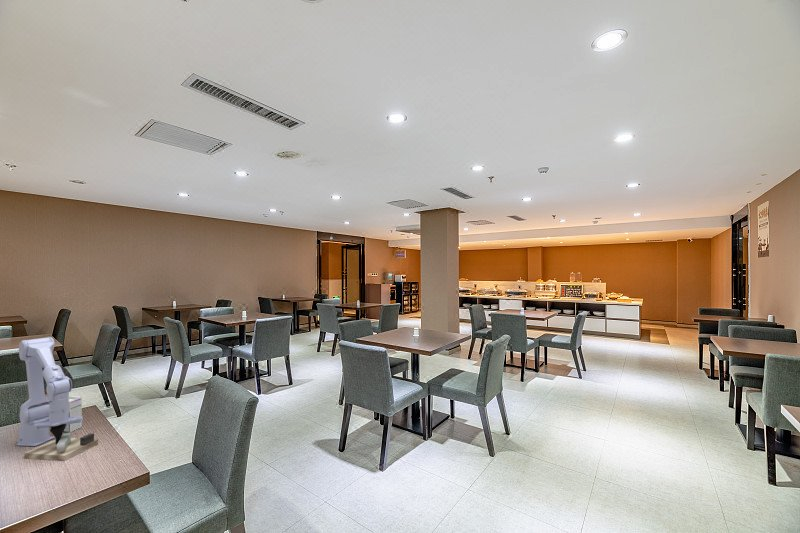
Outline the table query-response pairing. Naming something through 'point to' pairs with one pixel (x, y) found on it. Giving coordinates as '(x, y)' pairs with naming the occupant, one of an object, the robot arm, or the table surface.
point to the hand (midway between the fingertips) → (58, 443)
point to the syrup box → (74, 413)
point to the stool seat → (73, 448)
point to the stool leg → (63, 442)
